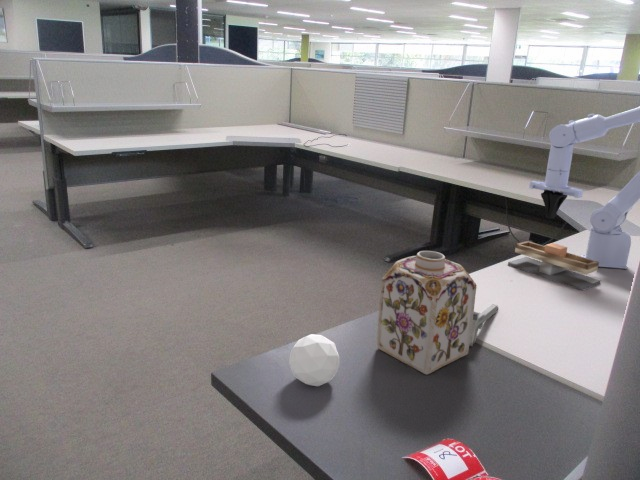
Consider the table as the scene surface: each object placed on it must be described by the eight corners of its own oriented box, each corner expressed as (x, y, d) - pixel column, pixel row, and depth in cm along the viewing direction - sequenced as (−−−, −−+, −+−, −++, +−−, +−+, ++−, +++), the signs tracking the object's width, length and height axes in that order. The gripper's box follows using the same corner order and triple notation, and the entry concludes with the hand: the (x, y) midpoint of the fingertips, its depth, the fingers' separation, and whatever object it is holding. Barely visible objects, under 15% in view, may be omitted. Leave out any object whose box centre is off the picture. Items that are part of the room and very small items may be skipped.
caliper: (471, 349, 95) (475, 317, 93) (465, 347, 96) (469, 315, 94) (498, 309, 112) (502, 281, 110) (493, 308, 113) (496, 280, 111)
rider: (543, 254, 132) (545, 244, 131) (550, 252, 134) (552, 243, 133) (558, 259, 129) (560, 249, 128) (565, 256, 131) (567, 247, 130)
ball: (326, 395, 84) (358, 364, 81) (291, 397, 79) (324, 364, 75) (305, 355, 89) (335, 325, 86) (271, 355, 83) (301, 322, 80)
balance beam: (507, 264, 138) (510, 244, 136) (526, 259, 143) (529, 239, 141) (582, 290, 123) (586, 267, 121) (600, 283, 127) (604, 261, 126)
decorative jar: (374, 348, 94) (380, 251, 88) (417, 330, 101) (425, 239, 96) (428, 377, 85) (438, 272, 80) (470, 355, 92) (483, 257, 87)
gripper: (525, 166, 148) (519, 214, 152) (575, 175, 137) (567, 226, 141) (540, 164, 152) (533, 211, 156) (590, 173, 141) (581, 222, 145)
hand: (550, 218), depth 148 cm, fingers closed
